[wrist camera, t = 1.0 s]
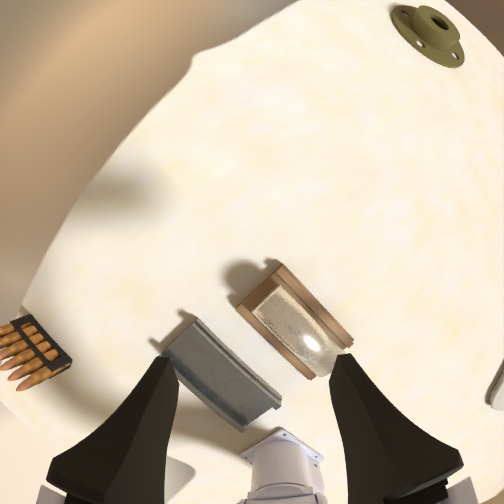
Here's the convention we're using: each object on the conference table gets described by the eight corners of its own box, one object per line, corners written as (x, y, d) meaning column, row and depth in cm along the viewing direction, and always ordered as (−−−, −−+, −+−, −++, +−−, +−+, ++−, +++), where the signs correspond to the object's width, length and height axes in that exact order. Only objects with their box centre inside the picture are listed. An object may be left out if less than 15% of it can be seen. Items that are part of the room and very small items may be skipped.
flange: (464, 70, 23) (480, 41, 22) (385, 5, 23) (416, -13, 22) (449, 82, 28) (469, 51, 27) (377, 22, 28) (408, 1, 27)
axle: (339, 343, 29) (349, 357, 25) (312, 366, 29) (318, 382, 25) (279, 281, 29) (282, 287, 25) (252, 306, 29) (250, 316, 25)
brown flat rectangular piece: (351, 336, 30) (355, 341, 28) (307, 375, 30) (309, 382, 28) (282, 263, 30) (283, 264, 28) (236, 307, 30) (234, 310, 28)
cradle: (281, 395, 30) (282, 405, 28) (242, 423, 31) (240, 433, 28) (198, 318, 30) (193, 323, 28) (161, 352, 31) (155, 358, 28)
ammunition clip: (28, 321, 32) (-24, 339, 20) (30, 313, 32) (-23, 330, 20) (70, 367, 32) (20, 399, 20) (72, 360, 32) (21, 392, 20)
